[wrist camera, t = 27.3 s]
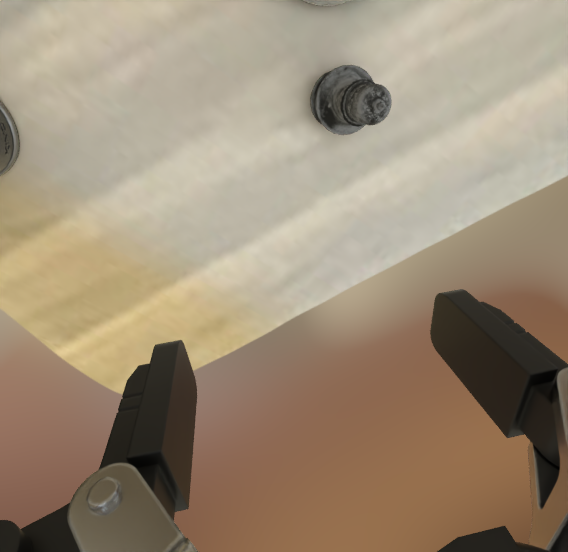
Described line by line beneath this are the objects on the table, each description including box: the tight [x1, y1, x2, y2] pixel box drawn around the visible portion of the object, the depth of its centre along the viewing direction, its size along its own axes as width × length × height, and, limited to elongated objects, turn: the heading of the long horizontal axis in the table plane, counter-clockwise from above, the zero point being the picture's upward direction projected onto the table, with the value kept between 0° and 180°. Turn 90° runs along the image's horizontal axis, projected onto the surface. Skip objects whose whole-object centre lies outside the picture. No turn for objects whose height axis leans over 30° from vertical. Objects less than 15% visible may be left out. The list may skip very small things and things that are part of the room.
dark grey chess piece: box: [311, 65, 391, 135], centre depth 30 cm, size 6×6×12 cm
